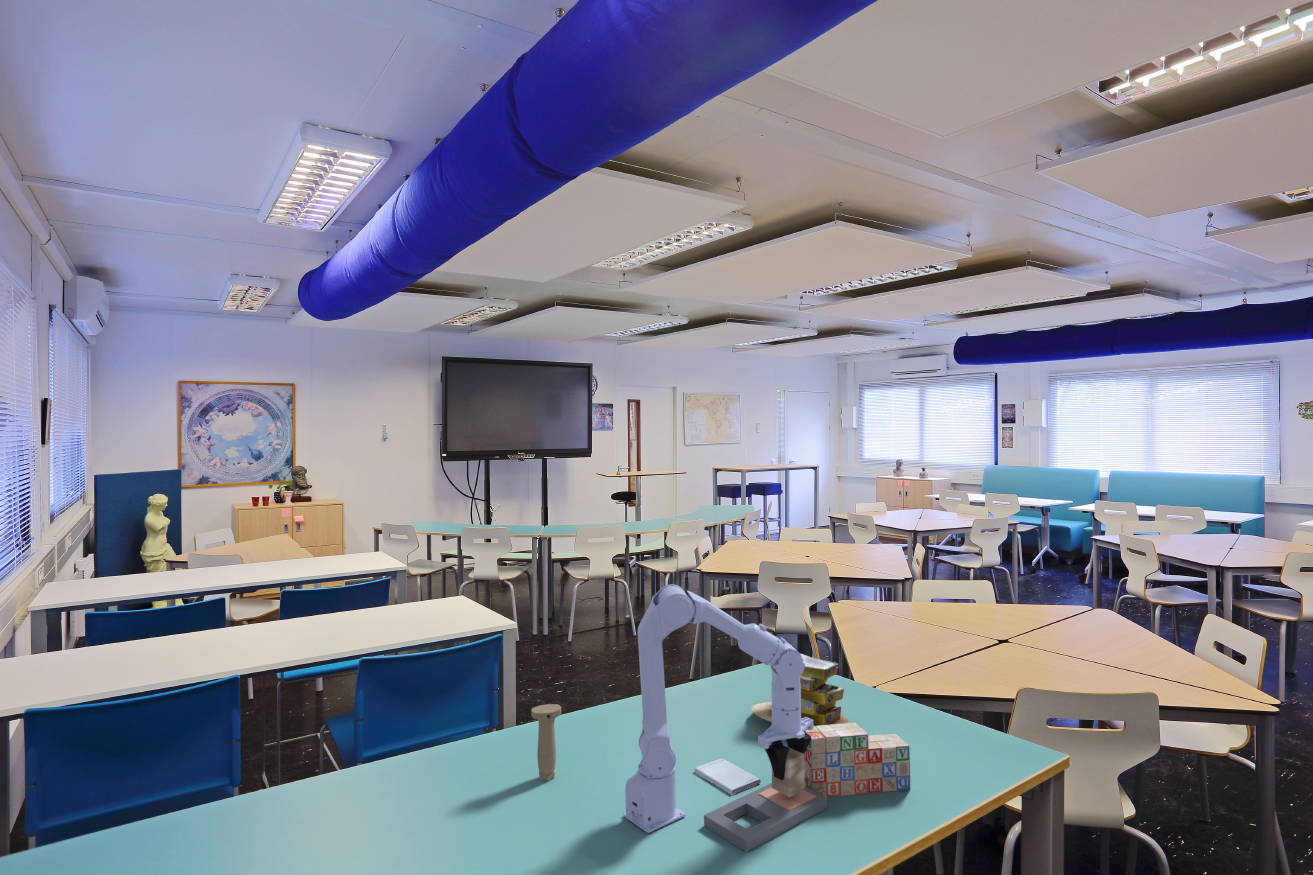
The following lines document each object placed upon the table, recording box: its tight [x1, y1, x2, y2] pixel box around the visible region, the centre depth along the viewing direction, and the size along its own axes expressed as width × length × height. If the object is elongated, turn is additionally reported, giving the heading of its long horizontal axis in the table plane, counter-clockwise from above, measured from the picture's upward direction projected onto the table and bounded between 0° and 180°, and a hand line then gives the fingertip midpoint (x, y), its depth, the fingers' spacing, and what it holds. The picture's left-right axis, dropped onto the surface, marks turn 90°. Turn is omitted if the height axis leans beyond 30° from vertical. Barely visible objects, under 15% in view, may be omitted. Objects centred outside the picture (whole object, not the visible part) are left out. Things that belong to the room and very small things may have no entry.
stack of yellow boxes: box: [750, 653, 851, 726], centre depth 177 cm, size 25×25×17 cm
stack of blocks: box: [804, 722, 911, 798], centre depth 143 cm, size 21×6×12 cm, turn 97°
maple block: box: [771, 746, 805, 797], centre depth 136 cm, size 4×4×7 cm
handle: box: [530, 703, 562, 782], centre depth 148 cm, size 5×6×15 cm
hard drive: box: [693, 757, 762, 795], centre depth 148 cm, size 2×8×12 cm
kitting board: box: [703, 782, 828, 853], centre depth 132 cm, size 23×11×2 cm, turn 129°
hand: (787, 773), depth 136 cm, fingers closed on maple block, 4 cm apart
